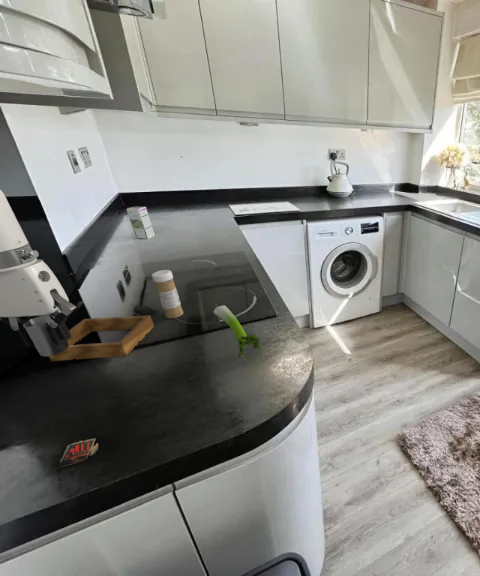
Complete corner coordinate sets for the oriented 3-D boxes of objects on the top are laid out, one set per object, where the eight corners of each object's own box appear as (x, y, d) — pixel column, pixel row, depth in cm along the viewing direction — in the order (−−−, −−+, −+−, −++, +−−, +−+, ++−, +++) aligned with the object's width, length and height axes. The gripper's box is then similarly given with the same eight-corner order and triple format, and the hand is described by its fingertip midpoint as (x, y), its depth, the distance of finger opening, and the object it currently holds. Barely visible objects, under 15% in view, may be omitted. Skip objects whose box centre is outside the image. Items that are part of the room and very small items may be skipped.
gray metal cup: (33, 357, 64) (16, 327, 61) (51, 344, 68) (35, 315, 65) (58, 355, 65) (42, 326, 61) (74, 342, 68) (59, 314, 65)
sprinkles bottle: (169, 311, 95) (156, 269, 89) (186, 310, 95) (174, 268, 90) (162, 320, 91) (148, 276, 85) (180, 318, 91) (166, 275, 85)
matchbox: (59, 471, 51) (58, 469, 50) (63, 447, 54) (62, 445, 54) (97, 455, 53) (96, 453, 53) (99, 434, 57) (98, 432, 57)
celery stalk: (234, 314, 97) (271, 357, 76) (210, 324, 94) (242, 373, 72) (227, 296, 95) (263, 336, 73) (202, 306, 91) (232, 351, 69)
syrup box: (155, 235, 160) (146, 206, 154) (148, 239, 155) (138, 208, 148) (143, 235, 160) (134, 206, 154) (135, 239, 155) (125, 208, 148)
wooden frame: (51, 361, 74) (44, 348, 73) (89, 329, 86) (84, 318, 84) (126, 356, 76) (121, 344, 75) (154, 326, 88) (150, 315, 86)
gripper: (72, 248, 62) (107, 329, 70) (-30, 252, 60) (19, 334, 68) (40, 263, 55) (83, 350, 63) (-76, 267, 53) (-15, 356, 61)
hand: (50, 341), depth 65 cm, fingers closed on gray metal cup, 4 cm apart
